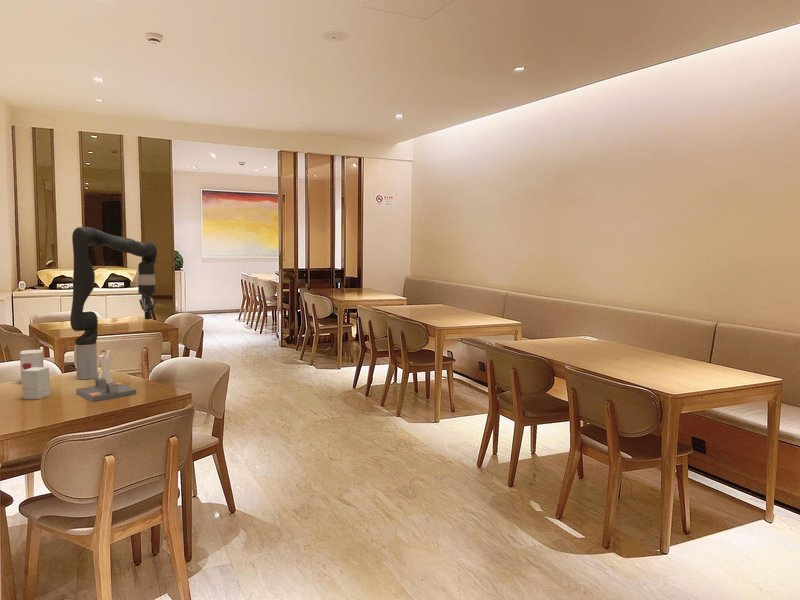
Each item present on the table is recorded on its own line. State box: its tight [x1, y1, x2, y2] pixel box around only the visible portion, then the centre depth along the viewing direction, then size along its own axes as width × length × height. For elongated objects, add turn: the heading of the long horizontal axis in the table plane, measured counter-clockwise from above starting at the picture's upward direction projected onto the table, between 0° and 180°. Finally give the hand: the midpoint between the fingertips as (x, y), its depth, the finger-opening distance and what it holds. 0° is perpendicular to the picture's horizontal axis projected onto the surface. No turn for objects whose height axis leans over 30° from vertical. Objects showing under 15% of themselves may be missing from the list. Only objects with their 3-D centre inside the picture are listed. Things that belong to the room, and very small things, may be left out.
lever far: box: [97, 349, 115, 382], centre depth 251 cm, size 3×2×15 cm
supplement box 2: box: [21, 366, 51, 400], centre depth 238 cm, size 7×7×13 cm
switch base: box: [75, 377, 137, 403], centre depth 246 cm, size 20×18×6 cm
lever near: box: [97, 353, 115, 387], centre depth 240 cm, size 3×2×15 cm
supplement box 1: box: [19, 349, 44, 385], centre depth 266 cm, size 9×9×15 cm
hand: (147, 319), depth 266 cm, fingers closed
